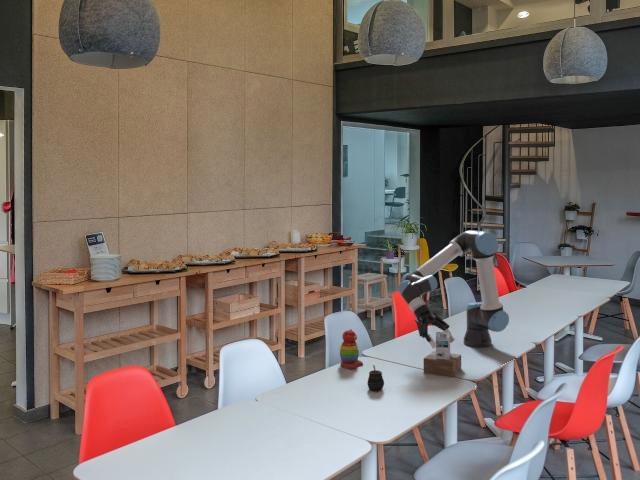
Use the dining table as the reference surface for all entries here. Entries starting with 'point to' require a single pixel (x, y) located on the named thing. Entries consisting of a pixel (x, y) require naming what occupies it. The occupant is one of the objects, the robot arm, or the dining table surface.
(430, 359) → the walnut block
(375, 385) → the mate gourd
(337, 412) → the dining table surface
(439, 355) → the light bulb box
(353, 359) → the stacking bear
